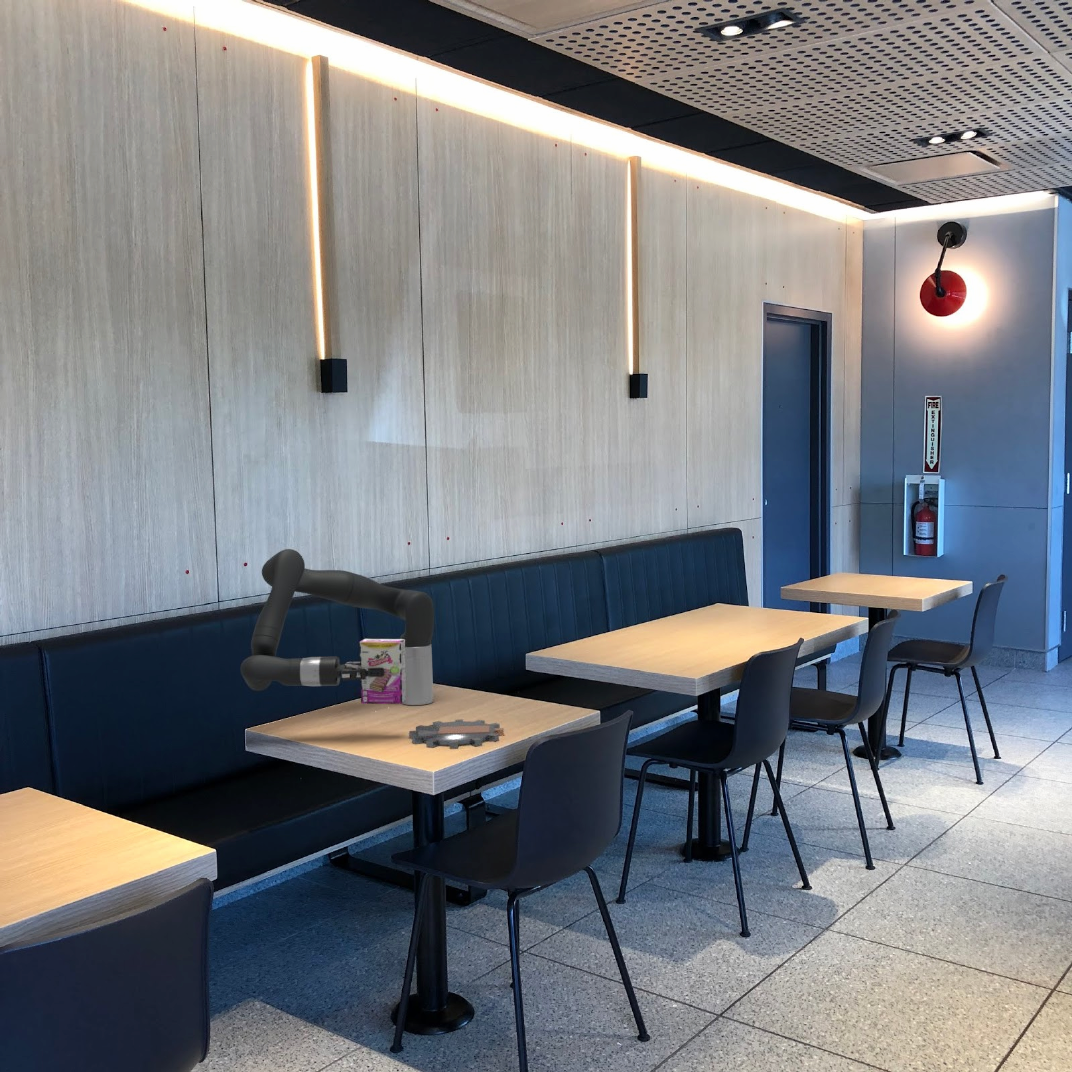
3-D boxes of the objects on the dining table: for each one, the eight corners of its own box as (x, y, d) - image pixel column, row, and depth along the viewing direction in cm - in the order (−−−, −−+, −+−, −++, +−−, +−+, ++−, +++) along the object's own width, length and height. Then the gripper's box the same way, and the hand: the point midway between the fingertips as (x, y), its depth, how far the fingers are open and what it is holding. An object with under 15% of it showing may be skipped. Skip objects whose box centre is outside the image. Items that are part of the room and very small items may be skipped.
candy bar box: (360, 704, 288) (358, 641, 287) (365, 700, 293) (363, 638, 292) (403, 704, 287) (401, 641, 286) (407, 700, 292) (405, 638, 291)
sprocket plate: (414, 726, 301) (413, 720, 301) (504, 723, 301) (504, 717, 301) (404, 749, 277) (404, 743, 276) (502, 746, 277) (502, 740, 277)
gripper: (314, 662, 282) (381, 660, 282) (324, 652, 296) (388, 650, 296) (315, 691, 282) (382, 690, 282) (325, 680, 297) (389, 678, 297)
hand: (385, 669), depth 289 cm, fingers closed on candy bar box, 5 cm apart
